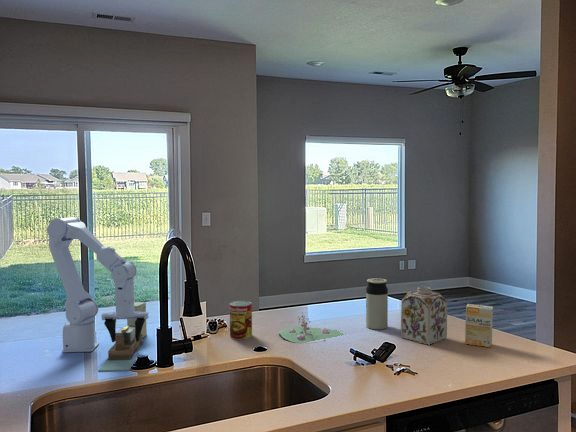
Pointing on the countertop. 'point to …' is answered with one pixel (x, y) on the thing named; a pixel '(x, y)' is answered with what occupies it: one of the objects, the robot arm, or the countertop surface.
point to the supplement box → (479, 325)
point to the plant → (307, 333)
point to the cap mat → (117, 365)
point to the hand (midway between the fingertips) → (125, 340)
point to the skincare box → (131, 322)
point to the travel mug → (377, 304)
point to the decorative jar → (424, 316)
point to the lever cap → (127, 334)
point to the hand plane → (124, 348)
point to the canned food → (240, 320)
